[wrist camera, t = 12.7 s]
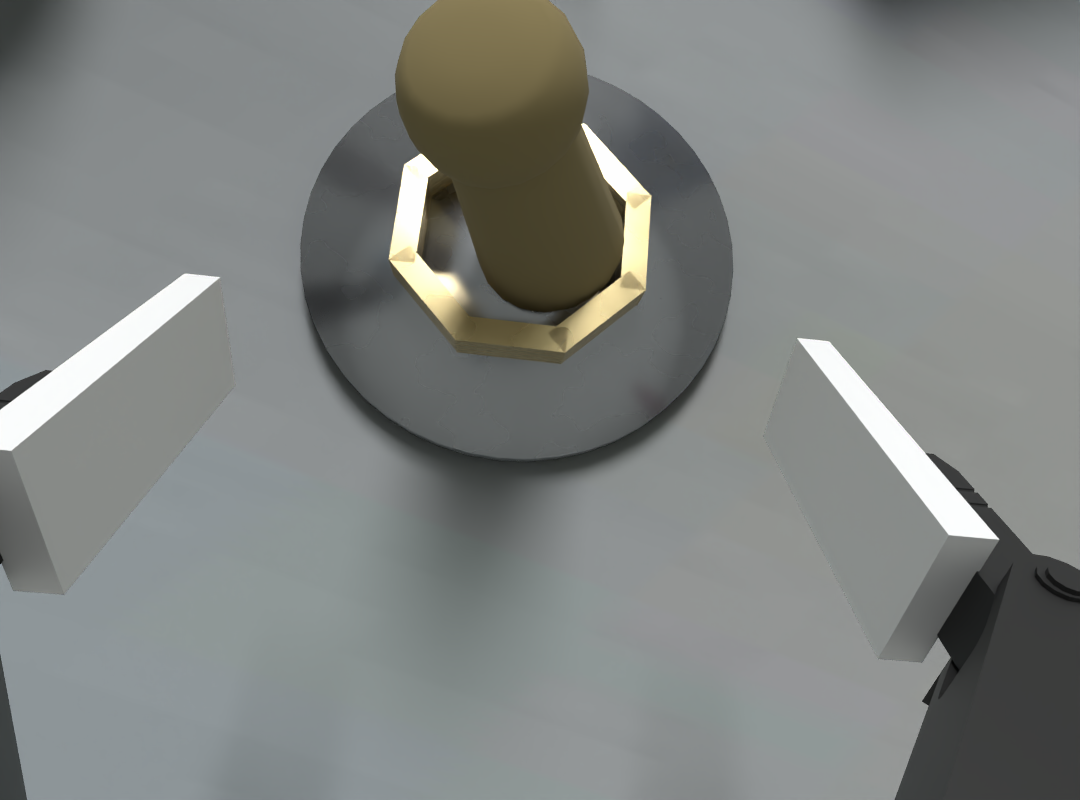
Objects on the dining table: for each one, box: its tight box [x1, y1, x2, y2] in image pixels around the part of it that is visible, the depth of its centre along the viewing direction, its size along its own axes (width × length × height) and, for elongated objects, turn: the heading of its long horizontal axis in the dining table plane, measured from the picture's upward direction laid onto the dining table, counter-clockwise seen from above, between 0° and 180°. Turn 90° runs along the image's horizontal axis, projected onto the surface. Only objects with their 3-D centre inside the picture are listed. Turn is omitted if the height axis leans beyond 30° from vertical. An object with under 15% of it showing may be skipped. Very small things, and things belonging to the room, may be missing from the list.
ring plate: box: [301, 75, 733, 462], centre depth 27 cm, size 18×18×2 cm
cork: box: [395, 0, 625, 313], centre depth 21 cm, size 6×6×11 cm
